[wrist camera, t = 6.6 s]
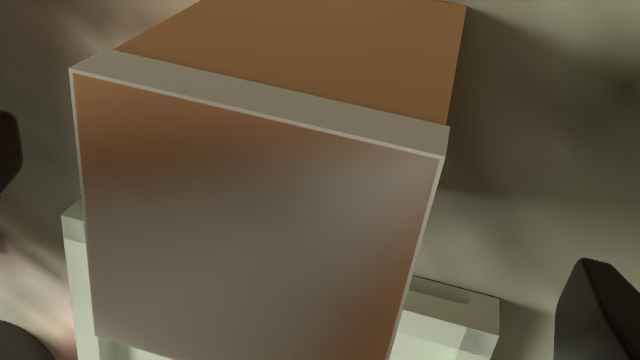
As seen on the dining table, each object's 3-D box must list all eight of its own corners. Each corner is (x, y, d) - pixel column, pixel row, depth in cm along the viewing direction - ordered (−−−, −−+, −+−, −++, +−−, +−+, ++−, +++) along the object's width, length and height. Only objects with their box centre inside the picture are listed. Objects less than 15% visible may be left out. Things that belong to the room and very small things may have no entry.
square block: (469, 3, 12) (445, 156, 7) (421, 188, 15) (372, 420, 9) (260, -38, 13) (68, 67, 7) (247, 145, 15) (95, 336, 10)
